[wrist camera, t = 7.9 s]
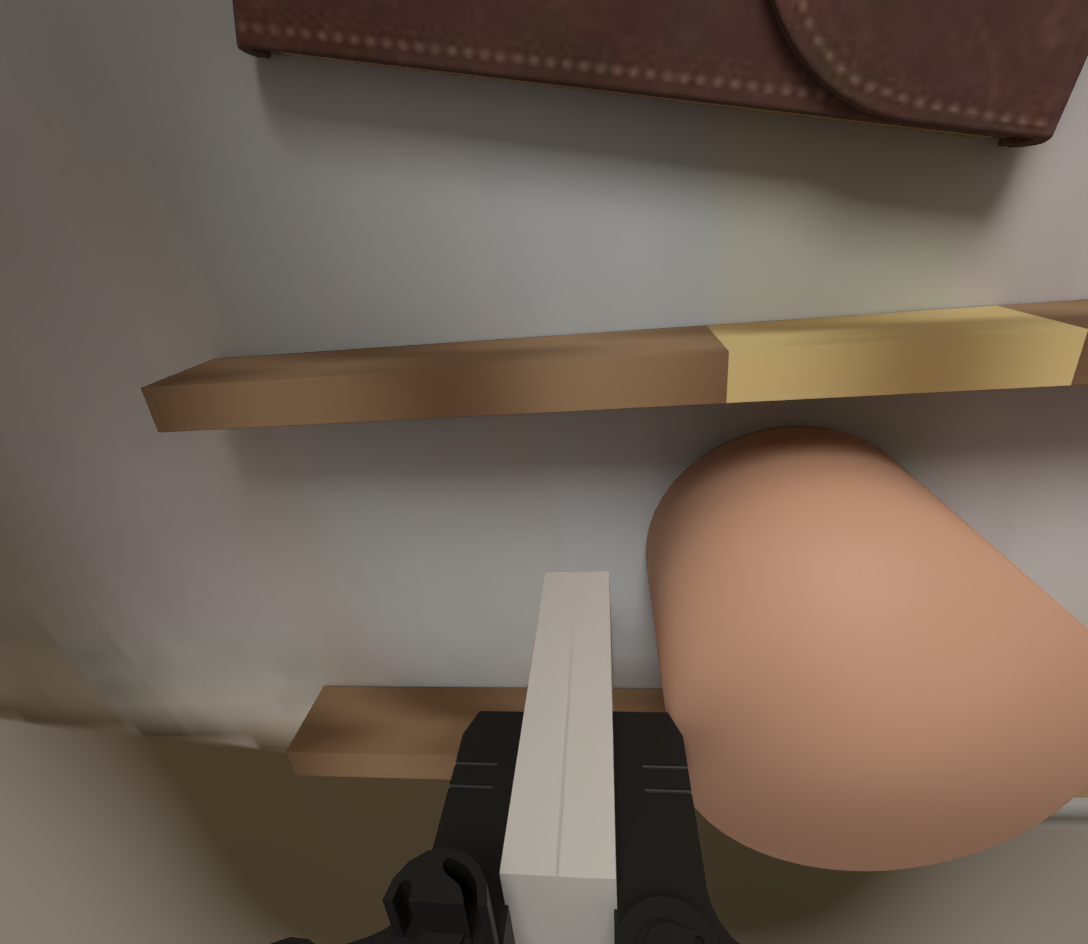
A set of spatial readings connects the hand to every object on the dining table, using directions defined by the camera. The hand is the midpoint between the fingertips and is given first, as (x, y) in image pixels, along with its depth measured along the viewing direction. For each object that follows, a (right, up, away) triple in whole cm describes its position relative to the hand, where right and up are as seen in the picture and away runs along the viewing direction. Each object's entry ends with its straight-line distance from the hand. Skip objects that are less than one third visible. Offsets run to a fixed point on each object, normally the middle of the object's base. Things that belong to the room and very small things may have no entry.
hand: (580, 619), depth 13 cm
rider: (+5, +1, +2) cm, 6 cm away
